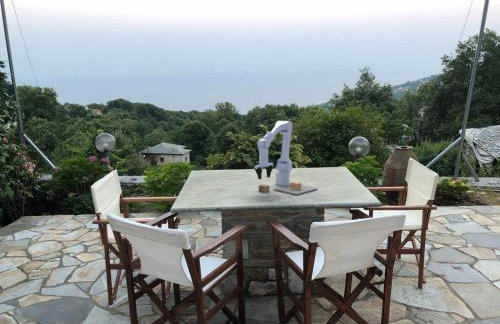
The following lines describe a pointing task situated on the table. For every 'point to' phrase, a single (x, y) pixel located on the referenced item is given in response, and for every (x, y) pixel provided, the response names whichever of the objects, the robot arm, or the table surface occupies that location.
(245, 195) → the table surface
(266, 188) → the brick walnut
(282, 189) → the tower board
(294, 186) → the brick terracotta
